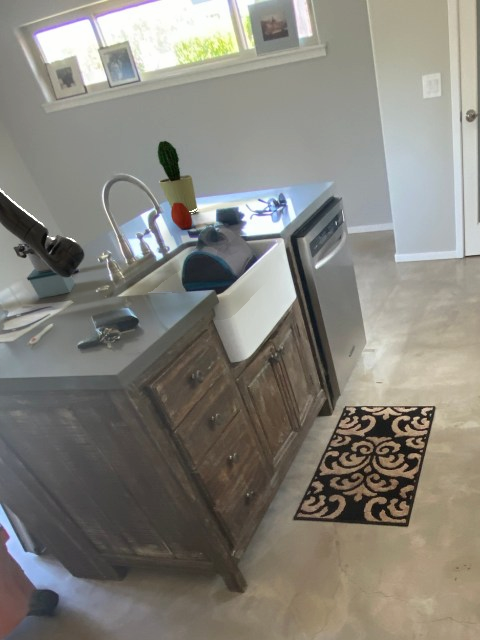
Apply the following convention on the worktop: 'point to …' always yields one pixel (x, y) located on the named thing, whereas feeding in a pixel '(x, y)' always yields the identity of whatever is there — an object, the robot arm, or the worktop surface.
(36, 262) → the beverage can
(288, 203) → the worktop surface
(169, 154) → the potted cactus
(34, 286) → the container
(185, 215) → the red ovoid
